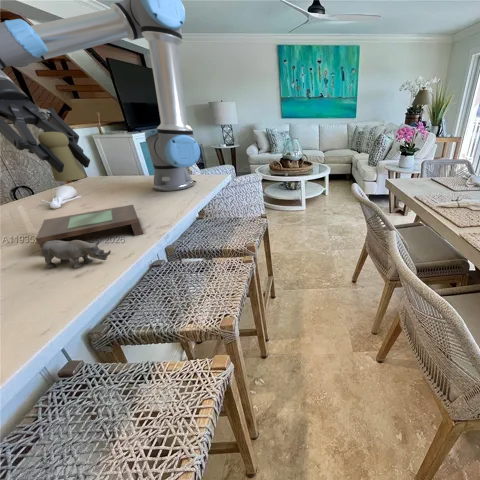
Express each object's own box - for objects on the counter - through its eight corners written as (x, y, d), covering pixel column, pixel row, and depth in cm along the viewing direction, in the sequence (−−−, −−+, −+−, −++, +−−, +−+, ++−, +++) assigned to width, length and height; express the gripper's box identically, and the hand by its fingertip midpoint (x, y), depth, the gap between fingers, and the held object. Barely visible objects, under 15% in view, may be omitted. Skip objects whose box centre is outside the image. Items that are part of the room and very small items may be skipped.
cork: (84, 174, 71) (66, 130, 66) (86, 178, 67) (68, 132, 62) (54, 178, 68) (32, 131, 63) (55, 182, 64) (32, 133, 59)
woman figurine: (84, 182, 104) (72, 197, 90) (89, 192, 106) (77, 209, 93) (46, 185, 99) (26, 202, 86) (51, 196, 102) (33, 215, 88)
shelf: (137, 218, 83) (132, 203, 81) (143, 233, 73) (137, 217, 71) (52, 235, 72) (43, 219, 70) (45, 256, 62) (35, 237, 60)
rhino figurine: (108, 268, 57) (98, 243, 55) (42, 270, 57) (28, 245, 54) (120, 258, 61) (111, 235, 58) (58, 260, 60) (46, 236, 58)
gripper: (42, 103, 72) (108, 168, 75) (-61, 103, 56) (27, 185, 59) (45, 80, 68) (115, 150, 71) (-64, 72, 52) (30, 162, 55)
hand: (75, 166), depth 65 cm, fingers closed on cork, 5 cm apart
